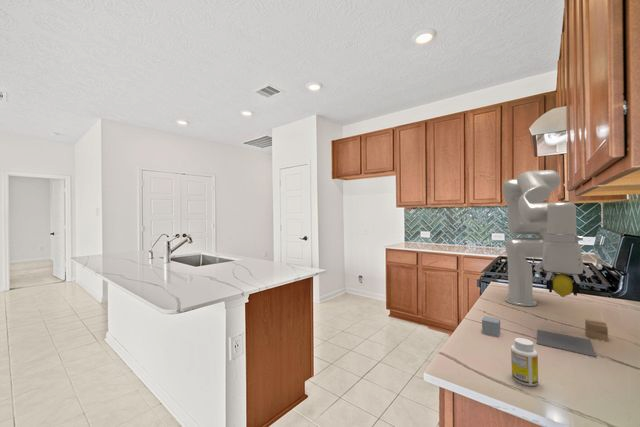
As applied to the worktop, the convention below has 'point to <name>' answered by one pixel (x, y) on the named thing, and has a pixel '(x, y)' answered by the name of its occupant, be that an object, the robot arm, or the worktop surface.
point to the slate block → (491, 326)
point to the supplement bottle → (524, 362)
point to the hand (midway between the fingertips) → (562, 292)
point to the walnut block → (596, 330)
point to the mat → (565, 342)
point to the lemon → (562, 285)
